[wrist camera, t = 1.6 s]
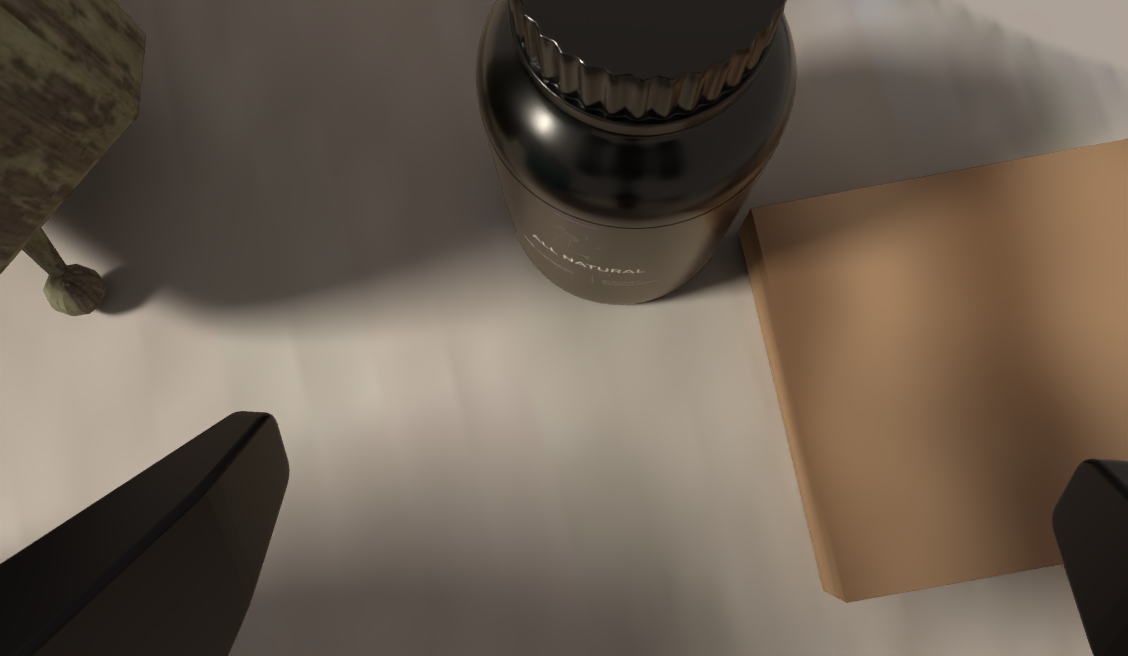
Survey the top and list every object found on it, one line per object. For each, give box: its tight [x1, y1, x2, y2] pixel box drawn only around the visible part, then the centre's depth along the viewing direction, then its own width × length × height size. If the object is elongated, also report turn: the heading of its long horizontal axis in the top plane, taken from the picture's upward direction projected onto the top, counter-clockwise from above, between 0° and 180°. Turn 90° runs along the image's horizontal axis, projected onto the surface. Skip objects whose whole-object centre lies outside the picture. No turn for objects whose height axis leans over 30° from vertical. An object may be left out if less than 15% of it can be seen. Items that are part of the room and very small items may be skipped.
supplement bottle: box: [476, 0, 797, 305], centre depth 18 cm, size 7×7×12 cm
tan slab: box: [738, 139, 1128, 603], centre depth 21 cm, size 11×11×2 cm
